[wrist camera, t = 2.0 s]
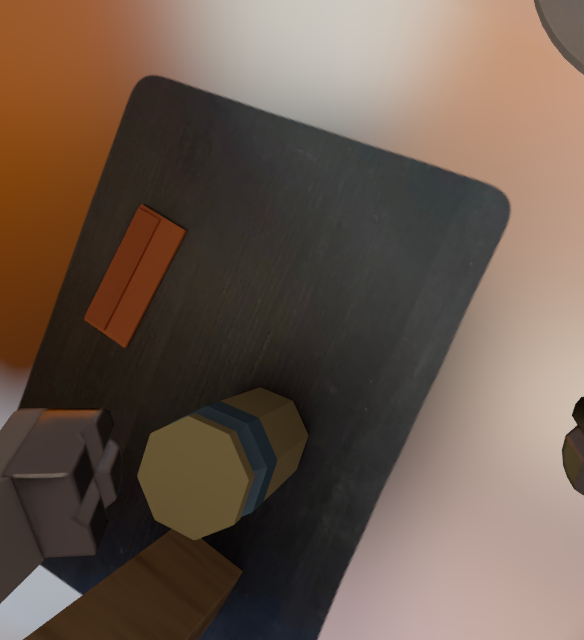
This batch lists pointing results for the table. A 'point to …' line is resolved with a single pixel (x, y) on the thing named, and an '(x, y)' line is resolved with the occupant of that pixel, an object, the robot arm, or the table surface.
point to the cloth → (134, 275)
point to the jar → (221, 461)
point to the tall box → (151, 596)
